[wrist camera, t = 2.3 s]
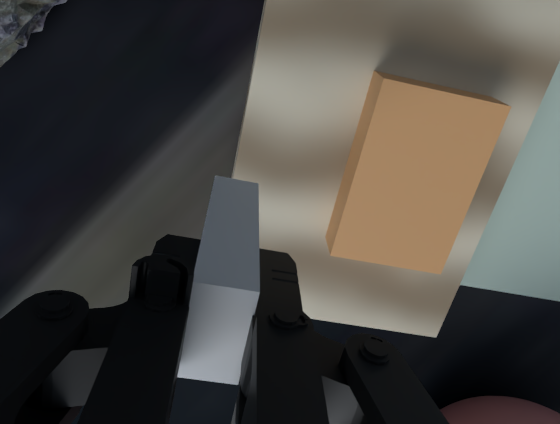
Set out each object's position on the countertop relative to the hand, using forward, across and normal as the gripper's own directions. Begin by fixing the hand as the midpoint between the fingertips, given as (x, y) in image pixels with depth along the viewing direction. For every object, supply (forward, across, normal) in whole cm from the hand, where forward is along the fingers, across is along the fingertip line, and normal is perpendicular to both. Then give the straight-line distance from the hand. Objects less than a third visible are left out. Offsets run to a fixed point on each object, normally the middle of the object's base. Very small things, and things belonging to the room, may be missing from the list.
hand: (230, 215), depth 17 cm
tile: (+8, +8, 0) cm, 12 cm away
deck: (+12, +7, +1) cm, 14 cm away
